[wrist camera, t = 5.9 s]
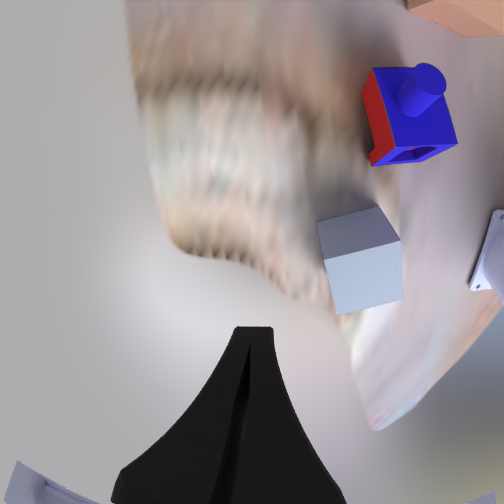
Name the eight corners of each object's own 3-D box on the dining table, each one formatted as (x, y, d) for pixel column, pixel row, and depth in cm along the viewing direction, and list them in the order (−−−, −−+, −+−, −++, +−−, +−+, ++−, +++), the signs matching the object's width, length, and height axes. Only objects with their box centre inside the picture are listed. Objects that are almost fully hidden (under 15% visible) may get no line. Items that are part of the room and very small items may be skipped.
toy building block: (405, 101, 16) (454, 43, 8) (421, 162, 16) (486, 130, 8) (356, 104, 16) (384, 38, 8) (371, 167, 17) (416, 131, 9)
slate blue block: (378, 205, 18) (400, 240, 15) (385, 258, 21) (403, 298, 17) (315, 221, 20) (323, 260, 16) (328, 272, 22) (336, 315, 18)
